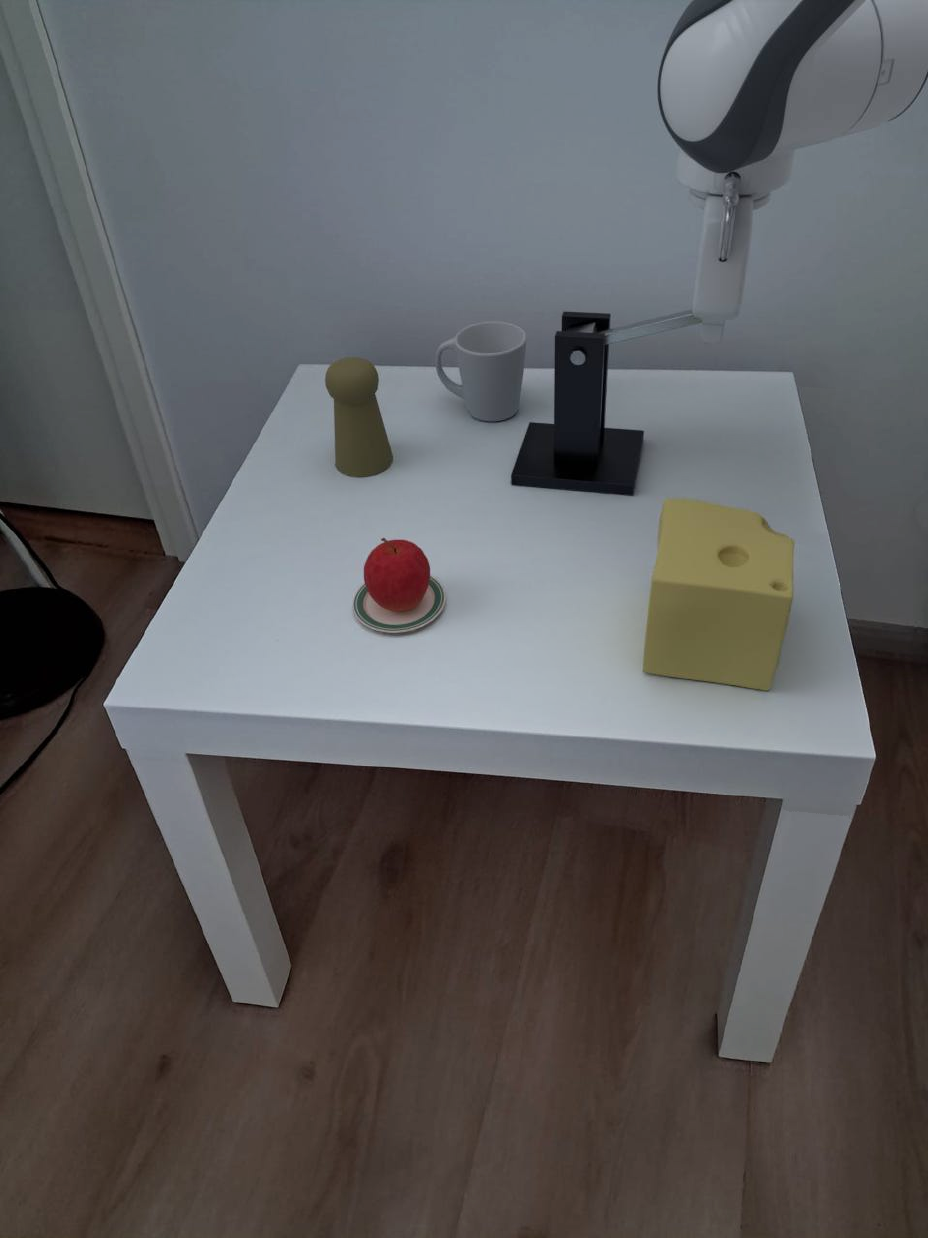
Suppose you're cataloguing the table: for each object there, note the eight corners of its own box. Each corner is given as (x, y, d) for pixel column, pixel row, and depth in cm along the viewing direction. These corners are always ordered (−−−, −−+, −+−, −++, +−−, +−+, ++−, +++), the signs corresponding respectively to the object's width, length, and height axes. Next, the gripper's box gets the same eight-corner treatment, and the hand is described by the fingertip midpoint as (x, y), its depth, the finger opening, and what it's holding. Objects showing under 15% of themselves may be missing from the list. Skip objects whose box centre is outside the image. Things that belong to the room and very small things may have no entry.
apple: (365, 571, 84) (355, 513, 80) (453, 577, 83) (448, 517, 78) (343, 633, 78) (331, 573, 74) (436, 639, 77) (430, 579, 73)
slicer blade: (726, 309, 84) (721, 284, 82) (724, 335, 80) (719, 309, 79) (575, 345, 89) (568, 322, 88) (567, 370, 86) (560, 346, 84)
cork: (333, 449, 99) (316, 353, 92) (389, 441, 100) (377, 345, 93) (337, 480, 95) (320, 383, 88) (396, 472, 96) (384, 374, 88)
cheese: (778, 606, 78) (801, 508, 71) (773, 700, 70) (798, 601, 64) (652, 589, 80) (662, 493, 73) (634, 678, 73) (644, 580, 66)
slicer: (643, 440, 97) (654, 303, 87) (633, 495, 90) (644, 354, 80) (529, 431, 100) (528, 297, 90) (511, 485, 93) (507, 346, 83)
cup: (519, 430, 100) (517, 356, 94) (430, 422, 102) (423, 349, 97) (534, 394, 105) (533, 323, 100) (449, 387, 108) (443, 317, 102)
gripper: (777, 202, 65) (747, 383, 74) (776, 116, 79) (751, 276, 89) (684, 200, 66) (666, 377, 76) (700, 115, 81) (683, 273, 90)
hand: (712, 322), depth 82 cm, fingers closed on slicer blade, 5 cm apart
